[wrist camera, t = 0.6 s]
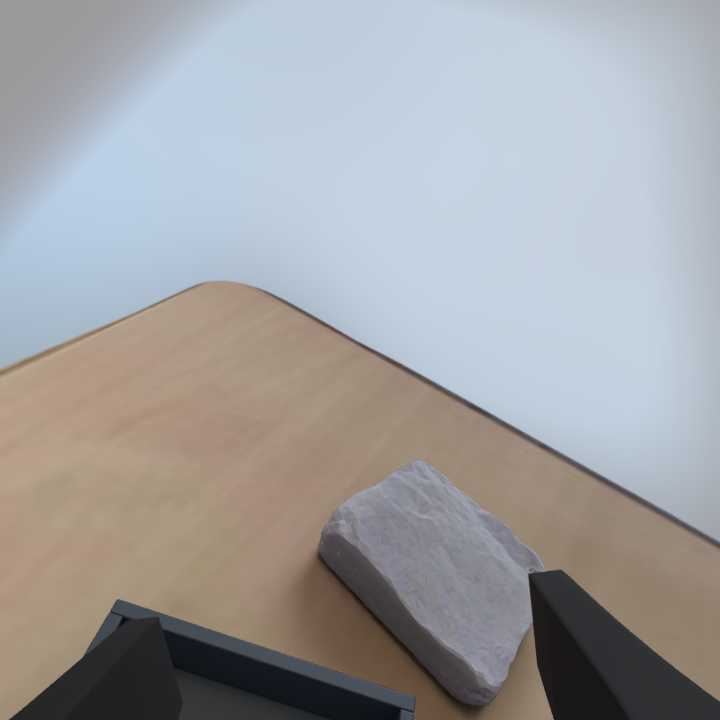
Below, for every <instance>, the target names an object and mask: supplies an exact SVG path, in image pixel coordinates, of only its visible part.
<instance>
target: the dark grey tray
mask: <svg viewBox="0 0 720 720" xmlns="http://www.w3.org/2000/svg"><path fill="white" fill-rule="evenodd" d="M158 616H159V619H160V623H161V626H162V630H163V633H164V637H165V640H166V644H167V647H168V651H169V655H170V658H171V662H172V665H173V669H174V672H175V676H176V679H177V683H178V686H179V690H180V693H181V697H182V700H183V704H182V708H181V712H180V716H179V719H178V720H414V709H415V697H413V696H410V695H407V694H404V693H401V692H398V691H395V690H392V689H389V688H386V687H383V686H380V685H377V684H373V683H370V682H367V681H364V680H361V679H358V678H355V677H352V676H349V675H346V674H343V673H340V672H337V671H334V670H331V669H328V668H325V667H322V666H319V665H316V664H313V663H310V662H307V661H304V660H301V659H298V658H295V657H292V656H289V655H286V654H283V653H280V652H277V651H274V650H271V649H268V648H265V647H262V646H259V645H255V644H252V643H249V642H246V641H243V640H240V639H237V638H234V637H231V636H228V635H225V634H222V633H219V632H216V631H213V630H210V629H207V628H204V627H201V626H198V625H195V624H192V623H189V622H186V621H183V620H180V619H177V618H174V617H171V616H168V615H165V614H162V613H159V612H156V611H153V610H150V609H147V608H144V607H141V606H137V605H134V604H131V603H128V602H125V601H122V600H119V599H118V600H117V601H116V602H115V604H114V606H113V607H112V609H111V611H110V613H109V614H108V616H107V617H106V619H105V621H104V622H103V624H102V626H101V627H100V629H99V631H98V632H97V634H96V636H95V638H94V639H93V641H92V643H91V644H90V646H89V648H88V649H87V651H86V653H85V654H84V656H85V655H86V654H88V653H89V652H90V651H91V650H92V649H94V648H95V647H96V646H97V645H98V644H99V643H101V642H102V641H103V640H104V639H105V638H107V637H108V636H109V635H110V634H112V633H113V632H114V631H115V630H117V629H118V628H119V627H120V626H122V625H123V624H124V623H126V622H127V621H128V620H132V619H141V618H150V617H158ZM84 656H83V657H84Z"/></svg>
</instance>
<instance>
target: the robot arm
mask: <svg viewBox="0 0 720 720" xmlns="http://www.w3.org/2000/svg"><path fill="white" fill-rule="evenodd" d="M528 579H529V589H530V599H531V608H532V618H533V628H534V637H535V647H536V657H537V666H538V669H539V672H540V676H541V679H542V682H543V686H544V689H545V692H546V696H547V699H548V702H549V705H550V708H551V712H552V715H553V718H554V720H720V702H719V701H718V700H717V699H715V698H714V697H713V696H711V695H710V694H708V693H707V692H706V691H704V690H703V689H702V688H701V687H699V686H698V685H697V684H695V683H694V682H693V681H691V680H690V679H689V678H687V677H686V676H685V675H683V674H682V673H681V672H679V671H678V670H677V669H676V668H674V667H673V666H672V665H671V664H669V663H668V662H667V661H666V660H664V659H663V658H662V657H661V656H659V655H658V654H657V653H656V652H654V651H653V650H652V649H651V648H650V647H648V646H647V645H646V644H645V643H644V642H642V641H641V640H640V639H639V638H638V637H636V636H635V635H634V634H633V633H632V632H630V631H629V630H628V629H627V628H626V627H625V626H623V625H622V624H621V623H620V622H619V621H618V620H617V619H615V618H614V617H613V616H612V615H611V614H610V613H609V612H608V611H606V610H605V609H604V608H603V607H602V606H601V605H600V604H599V603H597V602H596V601H595V600H594V599H593V598H592V597H591V596H590V595H589V594H588V593H587V592H586V591H584V590H583V589H582V588H581V587H580V586H579V585H578V584H577V583H576V582H575V581H574V580H573V579H572V578H571V577H569V576H568V575H567V574H566V573H565V572H563V571H562V570H554V571H545V572H537V573H528ZM182 704H183V700H182V697H181V693H180V690H179V686H178V683H177V679H176V676H175V672H174V669H173V665H172V662H171V658H170V655H169V651H168V647H167V644H166V640H165V637H164V633H163V630H162V626H161V623H160V619H159V616H158V617H150V618H141V619H132V620H128V621H127V622H126V623H124V624H123V625H122V626H120V627H119V628H118V629H117V630H115V631H114V632H113V633H112V634H110V635H109V636H108V637H107V638H105V639H104V640H103V641H102V642H101V643H99V644H98V645H97V646H96V647H95V648H94V649H92V650H91V651H90V652H89V653H88V654H86V655H85V656H84V657H83V658H82V659H81V660H79V661H78V662H77V663H76V664H75V665H74V666H72V667H71V668H70V669H69V670H68V671H67V672H65V673H64V674H63V675H62V676H61V677H60V678H58V679H57V680H56V681H55V682H54V683H53V684H51V685H50V686H49V687H48V688H47V689H45V690H44V691H43V692H42V693H41V694H40V695H38V696H37V697H36V698H35V699H34V700H33V701H31V702H30V703H29V704H28V705H27V706H25V707H24V708H23V709H22V710H21V711H19V712H18V713H17V714H16V715H14V716H13V717H12V718H11V719H9V720H178V719H179V716H180V712H181V708H182Z"/></svg>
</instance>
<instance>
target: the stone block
mask: <svg viewBox="0 0 720 720" xmlns="http://www.w3.org/2000/svg"><path fill="white" fill-rule="evenodd" d="M319 553H320V555H321V556H322V558H323V560H324V561H325V562H326V564H327V565H328V566H329V567H330V568H331V569H332V570H333V571H334V572H335V573H336V574H337V575H338V576H339V577H340V579H341V580H342V581H343V582H344V583H345V584H346V585H347V586H348V587H349V588H350V589H351V590H352V591H353V592H354V593H355V594H356V596H357V597H358V598H359V599H360V600H361V601H362V602H363V603H364V604H365V605H366V606H367V607H368V608H369V609H370V610H371V611H372V612H373V613H374V614H375V615H376V616H377V617H378V618H379V620H380V621H381V622H382V623H383V624H384V625H385V626H386V627H387V628H388V629H389V630H390V631H391V632H392V633H393V635H394V636H395V637H396V638H397V639H398V640H400V641H401V642H402V643H403V644H404V645H405V646H406V647H407V648H408V649H409V650H410V651H411V652H412V653H413V654H414V655H415V657H416V658H417V659H418V661H419V662H420V663H421V664H422V665H423V666H424V667H425V668H426V669H427V670H428V671H429V672H430V673H431V674H432V675H433V676H434V677H435V678H436V680H437V681H438V682H439V683H440V684H441V685H442V686H443V687H444V688H445V689H446V690H447V691H448V692H449V693H450V694H451V695H452V696H453V697H455V698H456V699H457V700H459V701H460V702H462V703H463V704H471V705H477V706H487V705H489V704H490V702H491V701H492V700H493V698H494V697H495V696H496V695H497V694H498V692H499V690H500V689H501V687H502V685H503V683H504V681H505V679H506V677H507V675H508V670H509V666H510V664H511V662H512V661H513V660H514V658H515V655H516V651H517V649H518V647H519V645H520V643H521V641H522V639H523V638H524V636H525V635H526V633H527V631H528V630H529V628H530V627H531V625H532V624H533V618H532V608H531V599H530V589H529V579H528V573H537V572H545V571H546V569H545V567H544V566H543V564H542V562H541V560H540V558H539V556H538V554H536V553H535V552H534V551H533V550H532V549H530V548H529V547H527V546H526V545H524V544H522V543H521V542H520V541H519V540H518V539H517V538H516V536H515V535H514V533H513V532H512V530H510V529H509V528H508V527H507V526H506V525H505V524H504V523H503V522H502V521H500V520H499V519H498V518H496V517H495V516H494V515H492V514H490V513H488V512H487V511H484V510H482V509H481V508H480V507H479V506H478V505H477V504H476V503H475V502H474V501H473V499H471V498H470V497H469V496H467V495H466V494H465V493H463V492H462V491H461V490H459V489H457V488H455V487H454V486H453V485H452V484H451V482H450V480H448V479H447V478H446V477H445V476H443V475H442V474H441V473H440V472H438V471H437V470H436V469H434V468H433V467H431V466H430V465H429V464H426V463H425V462H424V461H412V462H410V463H409V464H407V465H406V466H405V467H402V468H401V469H398V470H397V471H395V472H393V473H392V474H390V475H389V476H388V477H387V478H386V479H384V480H383V481H382V482H381V483H379V484H378V485H375V486H373V487H370V488H368V489H366V490H363V491H361V492H359V493H357V494H355V495H353V496H352V497H350V498H349V499H347V500H346V501H345V502H344V503H343V504H342V505H340V506H339V507H338V508H337V509H336V510H335V511H334V512H333V513H332V515H331V517H330V519H329V521H328V522H327V523H326V525H325V527H324V528H323V531H322V533H321V539H320V543H319Z"/></svg>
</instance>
